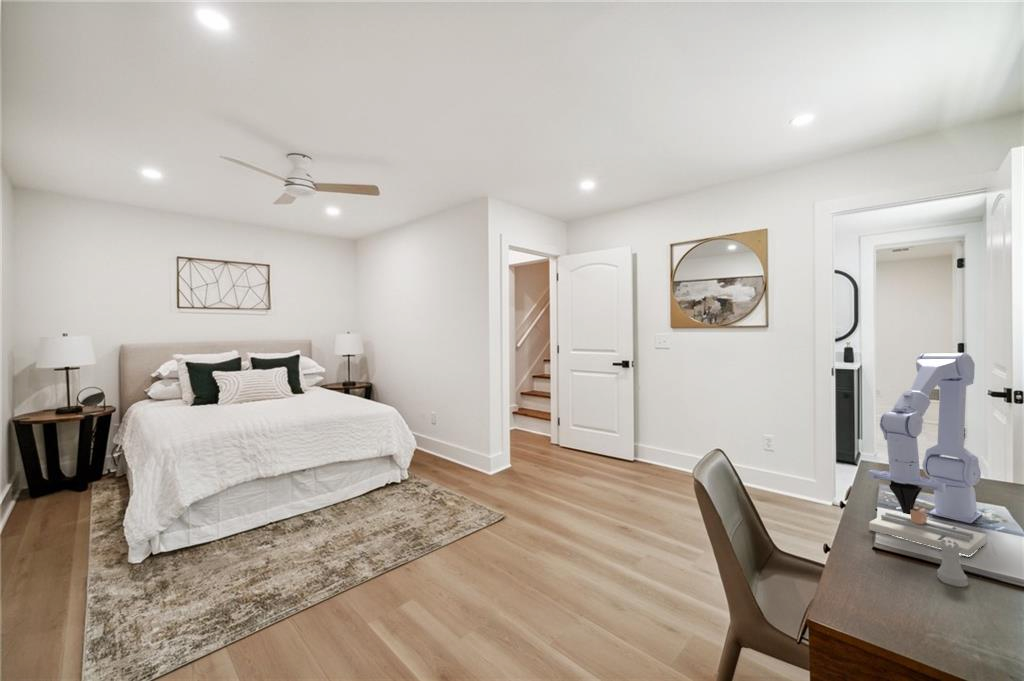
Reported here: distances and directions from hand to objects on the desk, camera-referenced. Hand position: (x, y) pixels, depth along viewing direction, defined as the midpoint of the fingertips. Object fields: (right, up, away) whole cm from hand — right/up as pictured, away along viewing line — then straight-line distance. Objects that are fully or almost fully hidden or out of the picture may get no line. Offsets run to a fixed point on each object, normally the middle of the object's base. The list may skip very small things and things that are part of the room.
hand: (907, 512), depth 106 cm
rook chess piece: (-11, -6, -21) cm, 24 cm away
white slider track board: (+2, -5, -3) cm, 6 cm away
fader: (+1, -2, -2) cm, 3 cm away
